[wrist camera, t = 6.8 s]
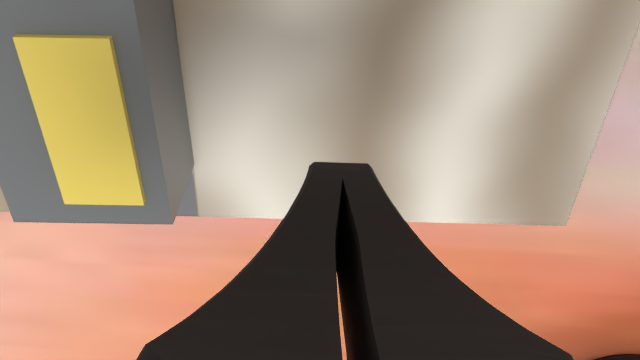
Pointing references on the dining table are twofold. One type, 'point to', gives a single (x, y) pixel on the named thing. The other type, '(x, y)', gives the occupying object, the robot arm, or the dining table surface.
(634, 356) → the travel mug
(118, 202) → the block
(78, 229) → the dining table surface
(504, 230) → the dining table surface
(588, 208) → the dining table surface
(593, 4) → the subfloor plank
